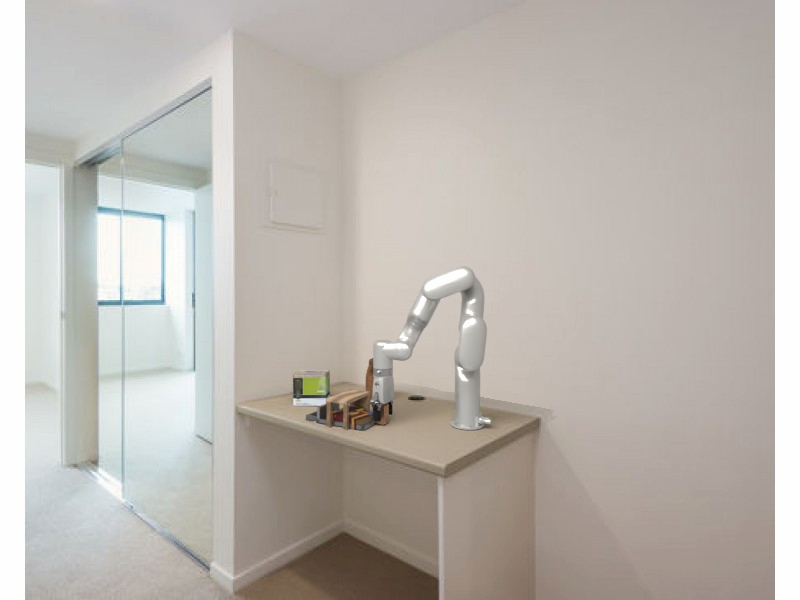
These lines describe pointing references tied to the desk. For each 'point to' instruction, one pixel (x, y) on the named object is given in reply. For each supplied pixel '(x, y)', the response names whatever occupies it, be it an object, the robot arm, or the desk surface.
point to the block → (370, 378)
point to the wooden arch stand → (348, 404)
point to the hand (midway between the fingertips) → (382, 417)
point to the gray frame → (312, 416)
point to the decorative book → (353, 416)
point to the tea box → (311, 387)
